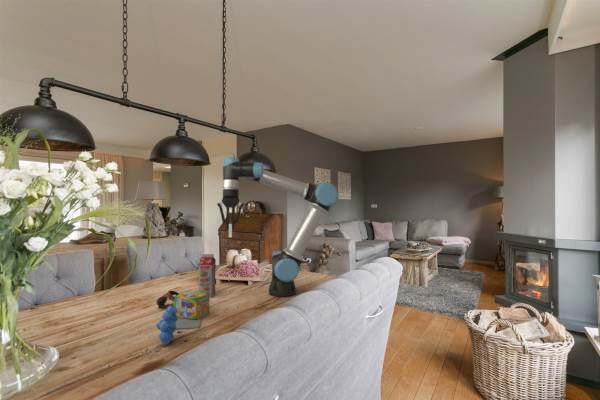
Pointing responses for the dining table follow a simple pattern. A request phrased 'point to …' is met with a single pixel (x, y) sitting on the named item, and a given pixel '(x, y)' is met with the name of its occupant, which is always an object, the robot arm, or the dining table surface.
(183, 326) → the mat
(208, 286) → the juice carton
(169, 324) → the grapes
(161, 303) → the brown ring
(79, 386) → the dining table surface
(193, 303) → the chalk box
